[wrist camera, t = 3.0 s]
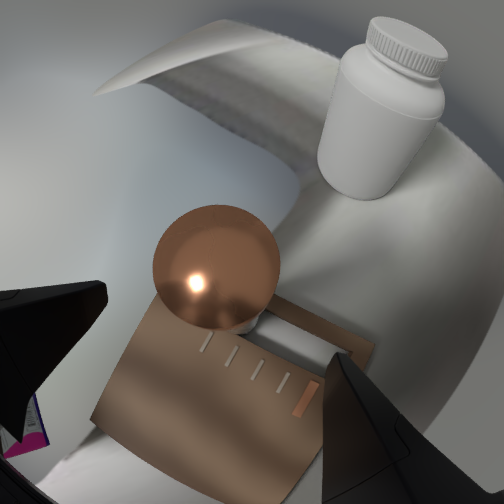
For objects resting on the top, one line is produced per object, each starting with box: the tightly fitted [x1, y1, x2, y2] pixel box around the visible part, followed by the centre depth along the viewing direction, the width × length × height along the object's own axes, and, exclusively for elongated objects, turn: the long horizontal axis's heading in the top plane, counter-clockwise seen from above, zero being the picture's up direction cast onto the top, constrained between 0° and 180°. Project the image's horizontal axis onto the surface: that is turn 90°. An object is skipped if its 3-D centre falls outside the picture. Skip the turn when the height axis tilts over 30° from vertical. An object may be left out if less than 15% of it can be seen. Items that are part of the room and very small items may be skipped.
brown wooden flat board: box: [90, 293, 375, 504], centre depth 18 cm, size 16×16×1 cm
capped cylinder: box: [153, 205, 280, 335], centre depth 14 cm, size 4×4×13 cm
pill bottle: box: [317, 17, 448, 200], centre depth 18 cm, size 8×8×15 cm
